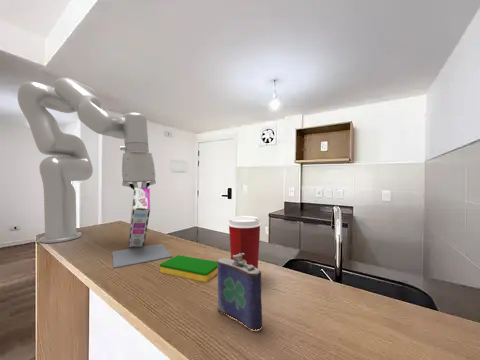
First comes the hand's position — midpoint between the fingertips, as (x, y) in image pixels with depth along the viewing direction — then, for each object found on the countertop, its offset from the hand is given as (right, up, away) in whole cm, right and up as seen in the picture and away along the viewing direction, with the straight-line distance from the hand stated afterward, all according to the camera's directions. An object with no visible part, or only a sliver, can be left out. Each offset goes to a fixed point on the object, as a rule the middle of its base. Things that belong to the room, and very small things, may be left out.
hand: (140, 202), depth 77 cm
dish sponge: (+22, -16, -22) cm, 35 cm away
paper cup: (+36, -15, -27) cm, 47 cm away
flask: (+35, -16, -40) cm, 55 cm away
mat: (+5, -15, -10) cm, 19 cm away
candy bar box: (-1, -11, -1) cm, 11 cm away
